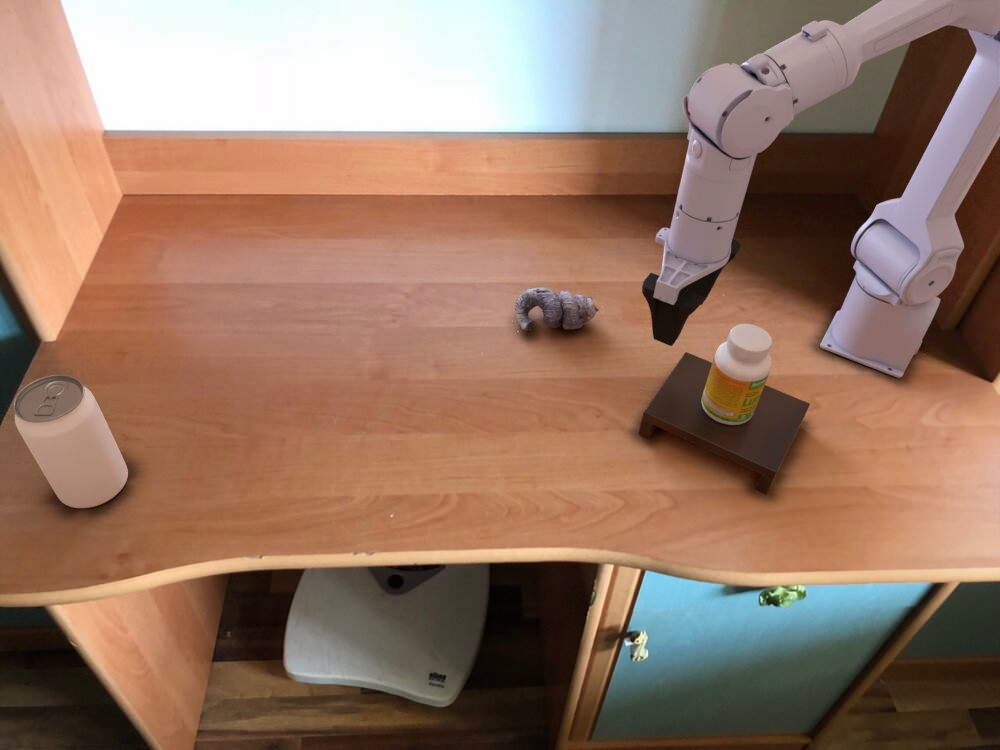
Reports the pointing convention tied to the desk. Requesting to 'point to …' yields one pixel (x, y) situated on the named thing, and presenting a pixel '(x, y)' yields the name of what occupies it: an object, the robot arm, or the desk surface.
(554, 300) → the seashell
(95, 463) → the can
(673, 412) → the shelf
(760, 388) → the supplement bottle
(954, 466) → the desk surface
